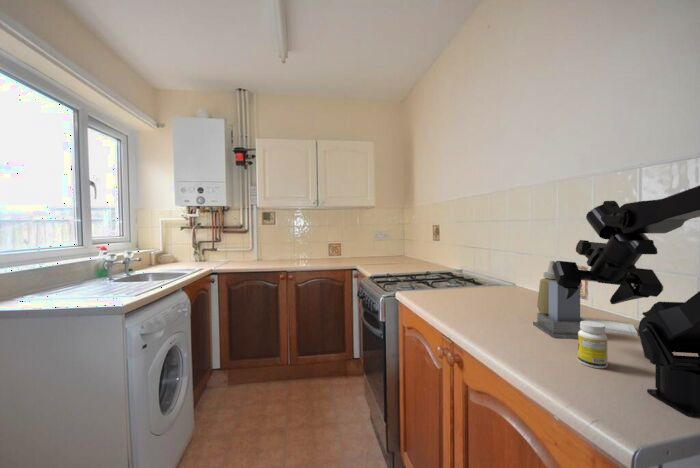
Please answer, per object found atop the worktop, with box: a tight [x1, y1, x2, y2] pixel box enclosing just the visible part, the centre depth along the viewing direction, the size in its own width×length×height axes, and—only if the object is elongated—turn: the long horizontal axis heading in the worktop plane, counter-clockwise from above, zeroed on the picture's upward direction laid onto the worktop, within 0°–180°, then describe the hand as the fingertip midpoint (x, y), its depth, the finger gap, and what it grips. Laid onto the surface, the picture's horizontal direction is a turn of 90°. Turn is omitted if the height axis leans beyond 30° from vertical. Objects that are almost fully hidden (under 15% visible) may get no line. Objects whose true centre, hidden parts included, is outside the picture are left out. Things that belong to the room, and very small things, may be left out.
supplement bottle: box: [577, 321, 608, 369], centre depth 61 cm, size 5×5×8 cm
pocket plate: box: [532, 312, 588, 340], centre depth 80 cm, size 10×11×4 cm
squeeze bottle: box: [536, 260, 556, 313], centre depth 91 cm, size 8×8×18 cm
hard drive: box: [580, 316, 639, 337], centre depth 83 cm, size 2×8×12 cm
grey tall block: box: [549, 281, 581, 322], centre depth 80 cm, size 4×6×13 cm
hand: (588, 299), depth 71 cm, fingers open, 9 cm apart
